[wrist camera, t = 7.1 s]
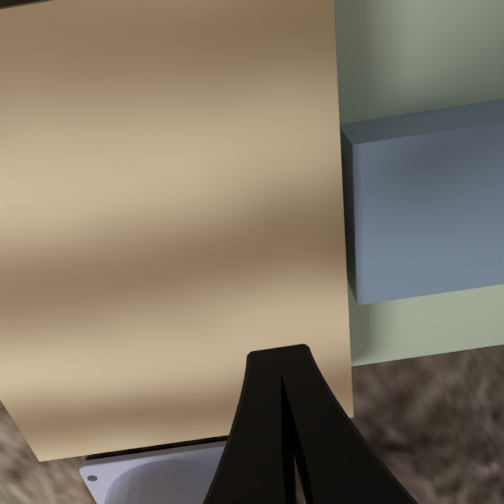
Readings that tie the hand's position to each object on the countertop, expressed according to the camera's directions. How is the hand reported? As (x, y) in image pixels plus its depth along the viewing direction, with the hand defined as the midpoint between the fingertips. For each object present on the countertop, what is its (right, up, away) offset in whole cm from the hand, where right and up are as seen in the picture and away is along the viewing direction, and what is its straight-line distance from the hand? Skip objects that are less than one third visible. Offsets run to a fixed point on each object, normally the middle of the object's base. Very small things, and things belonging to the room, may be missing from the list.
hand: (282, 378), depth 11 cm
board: (-4, +4, +7) cm, 9 cm away
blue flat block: (+7, +5, +6) cm, 11 cm away
